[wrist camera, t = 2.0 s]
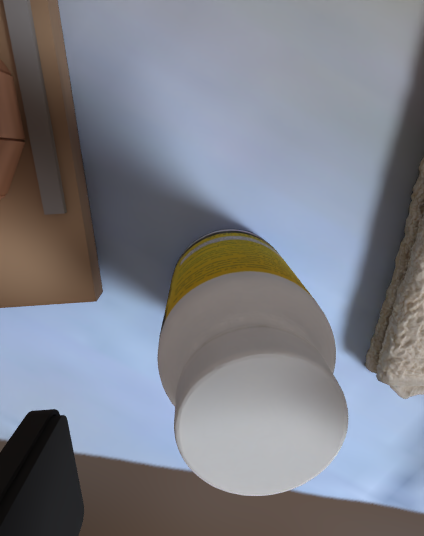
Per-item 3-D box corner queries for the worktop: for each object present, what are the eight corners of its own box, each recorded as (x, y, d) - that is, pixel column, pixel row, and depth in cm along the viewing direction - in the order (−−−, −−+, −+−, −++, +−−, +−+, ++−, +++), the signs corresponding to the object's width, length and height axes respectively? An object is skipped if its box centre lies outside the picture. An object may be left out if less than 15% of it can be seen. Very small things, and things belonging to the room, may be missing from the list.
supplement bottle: (153, 253, 17) (98, 374, 8) (262, 209, 16) (347, 278, 7) (198, 349, 18) (199, 547, 9) (298, 310, 18) (408, 476, 9)
